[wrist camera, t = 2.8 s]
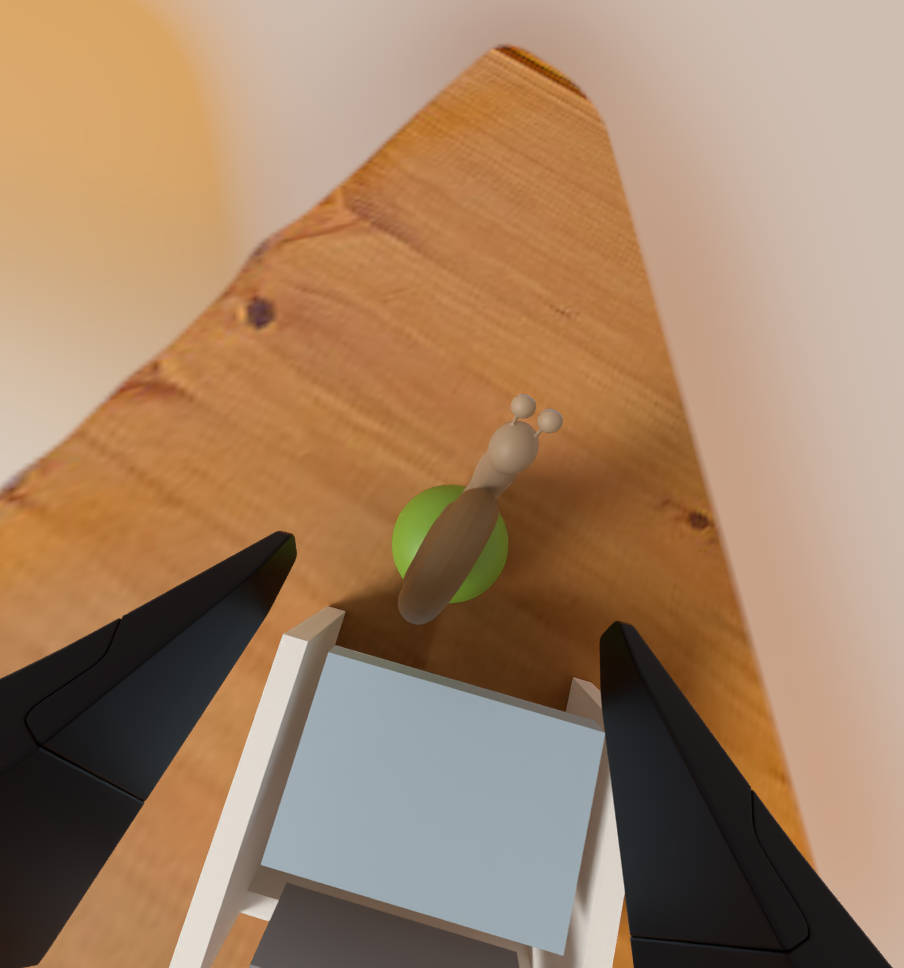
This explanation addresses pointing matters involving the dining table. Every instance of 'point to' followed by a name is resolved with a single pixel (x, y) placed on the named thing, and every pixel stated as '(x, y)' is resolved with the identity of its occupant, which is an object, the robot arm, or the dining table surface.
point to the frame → (257, 889)
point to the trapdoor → (428, 821)
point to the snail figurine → (464, 523)
